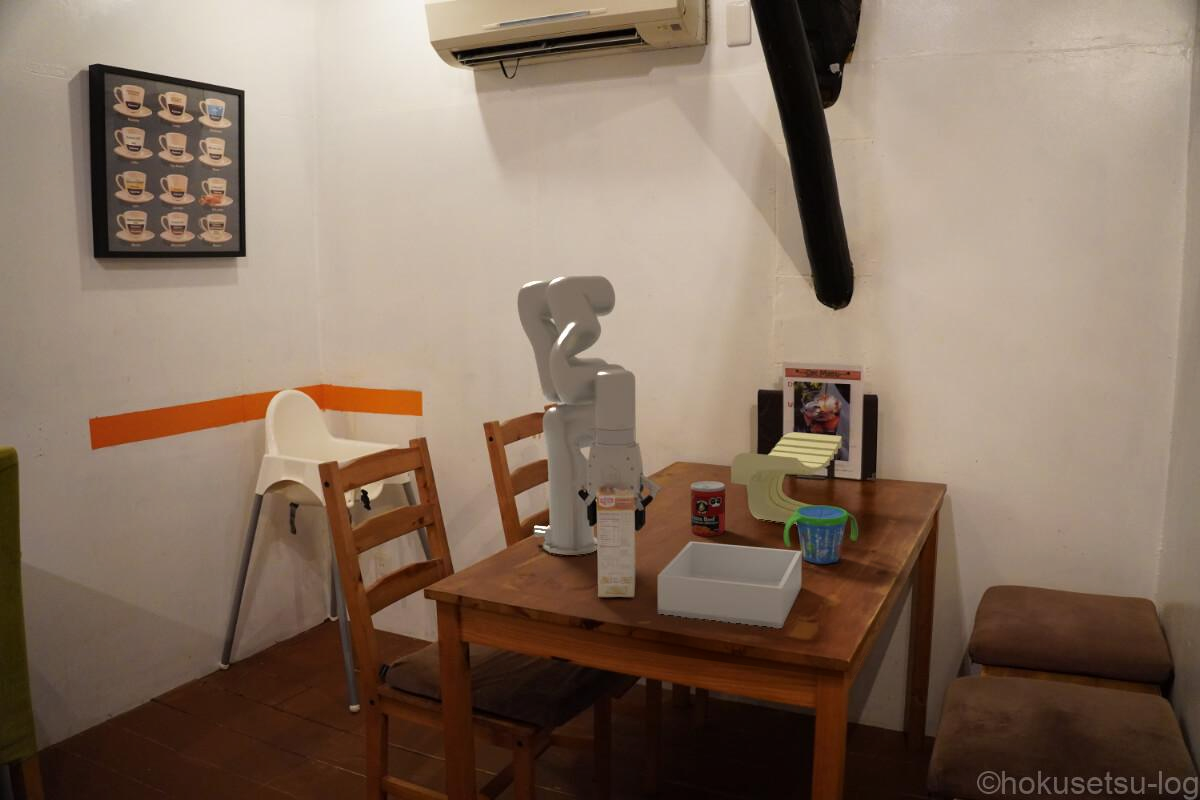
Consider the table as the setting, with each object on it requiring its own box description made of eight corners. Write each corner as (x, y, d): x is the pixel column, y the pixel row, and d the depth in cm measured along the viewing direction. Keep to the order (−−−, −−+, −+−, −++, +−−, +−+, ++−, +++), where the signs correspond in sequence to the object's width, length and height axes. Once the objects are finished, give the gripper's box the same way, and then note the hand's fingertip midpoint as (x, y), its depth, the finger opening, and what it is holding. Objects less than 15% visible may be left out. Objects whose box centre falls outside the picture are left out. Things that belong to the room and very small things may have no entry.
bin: (657, 614, 165) (657, 575, 164) (690, 575, 185) (689, 541, 184) (781, 628, 157) (781, 588, 156) (801, 587, 177) (801, 551, 176)
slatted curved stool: (780, 498, 244) (781, 431, 242) (840, 506, 236) (841, 436, 233) (730, 526, 219) (731, 451, 217) (795, 535, 211) (796, 457, 208)
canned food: (685, 534, 213) (685, 487, 212) (698, 525, 220) (698, 479, 219) (717, 538, 210) (717, 490, 208) (729, 529, 217) (729, 482, 215)
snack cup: (791, 569, 188) (791, 519, 186) (776, 553, 198) (776, 506, 197) (866, 565, 189) (868, 516, 188) (848, 550, 200) (849, 503, 198)
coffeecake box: (599, 569, 187) (598, 474, 184) (635, 569, 186) (635, 474, 183) (596, 597, 172) (595, 494, 169) (635, 597, 172) (634, 494, 169)
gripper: (564, 437, 174) (566, 527, 177) (654, 443, 168) (654, 536, 171) (579, 430, 181) (580, 517, 184) (666, 435, 175) (666, 525, 178)
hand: (616, 526), depth 177 cm, fingers closed on coffeecake box, 8 cm apart
